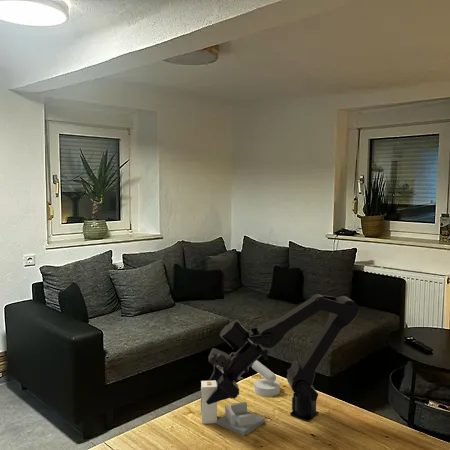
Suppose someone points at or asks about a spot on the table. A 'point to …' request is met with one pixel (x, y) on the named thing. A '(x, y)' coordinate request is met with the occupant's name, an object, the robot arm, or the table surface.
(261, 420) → the plate
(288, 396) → the table surface
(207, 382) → the white block orange patch
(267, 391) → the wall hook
